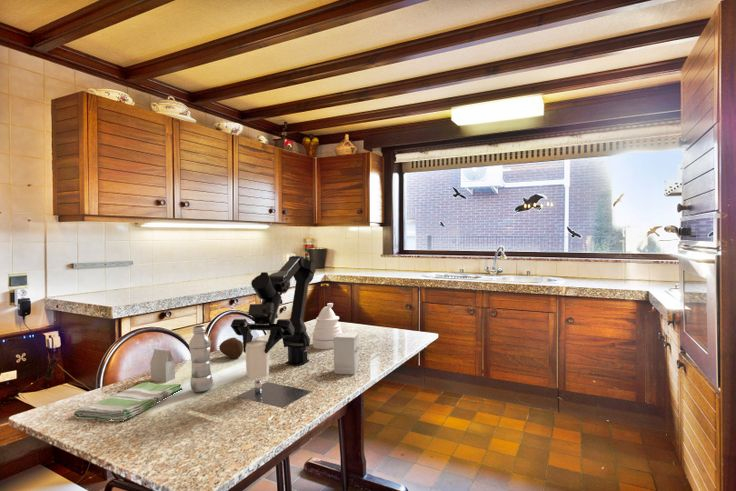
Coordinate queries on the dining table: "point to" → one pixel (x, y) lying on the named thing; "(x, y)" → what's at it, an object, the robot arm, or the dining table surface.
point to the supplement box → (346, 353)
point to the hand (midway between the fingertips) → (255, 352)
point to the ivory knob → (256, 359)
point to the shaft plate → (274, 394)
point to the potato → (231, 347)
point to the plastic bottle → (200, 360)
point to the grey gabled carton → (162, 366)
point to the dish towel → (128, 402)
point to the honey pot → (326, 328)
